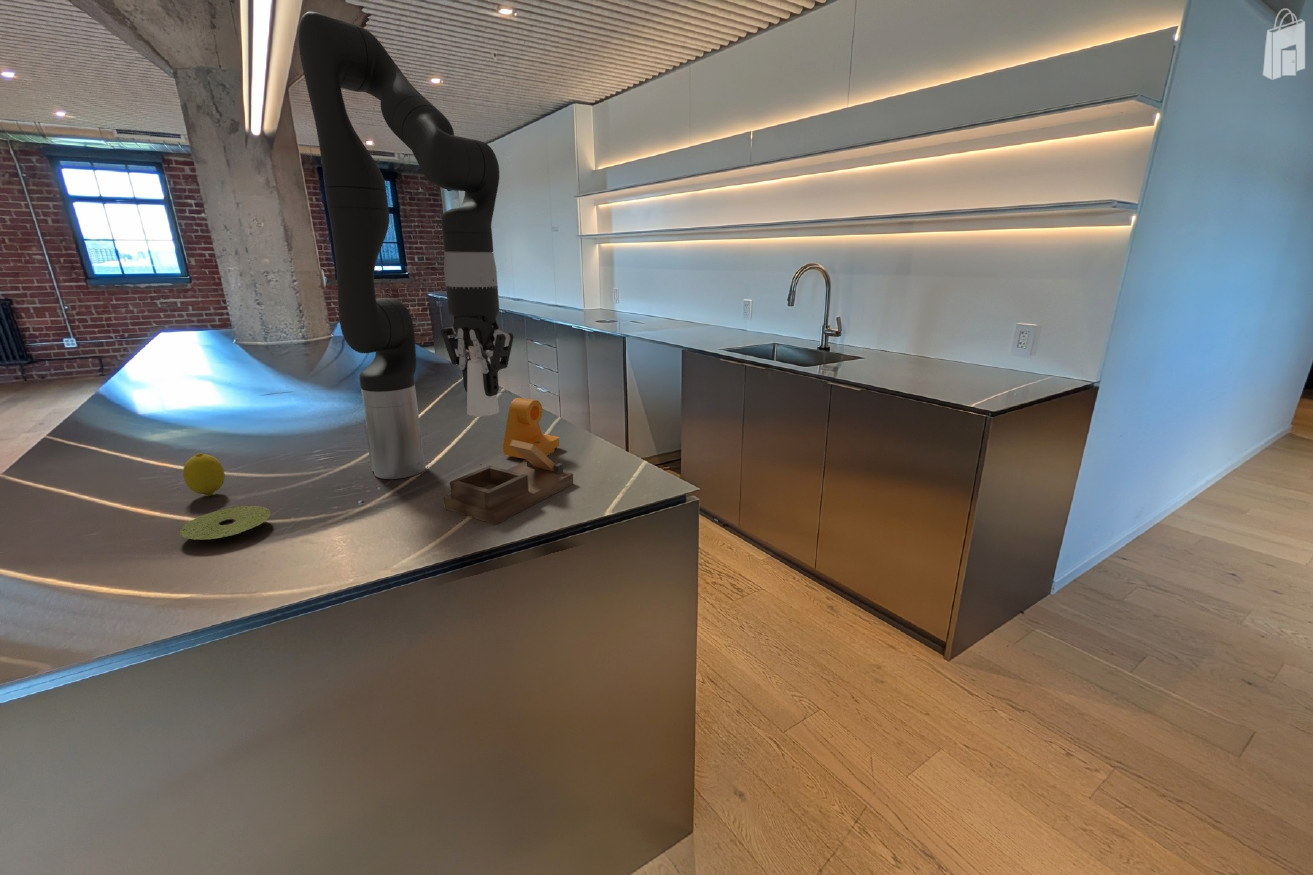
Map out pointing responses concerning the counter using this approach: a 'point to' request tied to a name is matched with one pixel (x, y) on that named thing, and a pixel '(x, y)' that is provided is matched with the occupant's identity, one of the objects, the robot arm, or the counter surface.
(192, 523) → the green abrasive disc
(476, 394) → the salt shaker
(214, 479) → the lemon
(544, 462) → the tan flat block
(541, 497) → the brown open tray piece
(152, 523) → the counter surface
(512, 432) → the bracket
